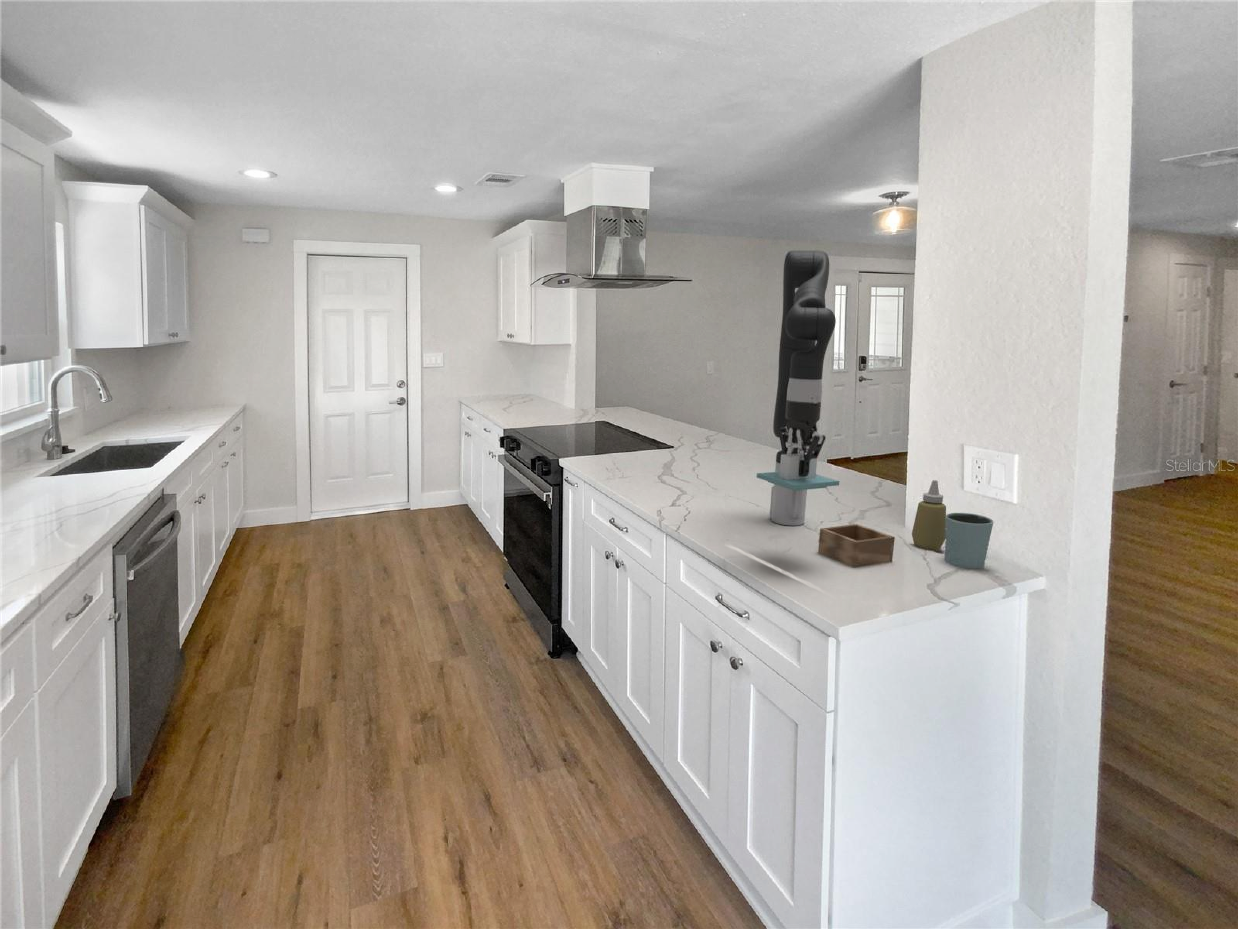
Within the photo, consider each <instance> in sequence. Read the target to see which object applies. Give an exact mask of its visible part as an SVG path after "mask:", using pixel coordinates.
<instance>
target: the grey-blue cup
mask: <svg viewBox="0 0 1238 929" xmlns="http://www.w3.org/2000/svg"><path fill="white" fill-rule="evenodd" d="M994 522H995V521H994V520H993V519H992V518H990V517H987V516H984V515H982V514H981V515H980V514H976V513H970V512H969V513H968V512H951V513H950V512H949V513H946V531H945V532H946V533H945V536H946V537H945V541H944V542H945V544H944V562H946V563H947V564H949V565H951V566H955V567H959V568H965V569H982V570H984V569H985V564H986V562H985V561H986V558H987V555H988V554H987V553H988V549H989V548H988V547H989V545H990V544H989V543H990V539H991V535H992V530H993V525H994Z"/></svg>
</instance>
